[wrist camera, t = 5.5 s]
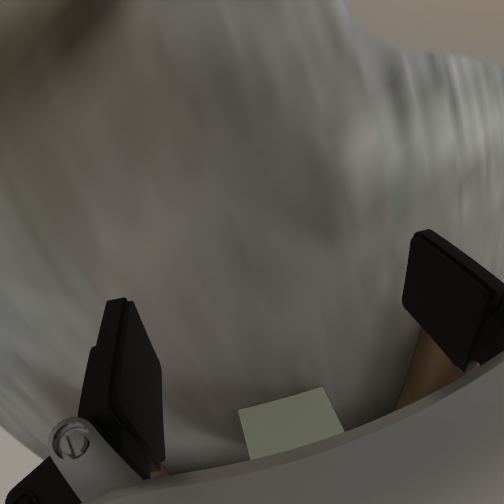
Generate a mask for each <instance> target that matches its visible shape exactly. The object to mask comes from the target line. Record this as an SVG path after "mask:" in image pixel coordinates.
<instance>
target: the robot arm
mask: <svg viewBox="0 0 504 504" xmlns="http://www.w3.org/2000/svg"><path fill="white" fill-rule="evenodd" d="M402 303H403V306H404V308H405V309H406V310H407V311H408V312H409V313H410V315H411V316H412V317H413V318H414V319H415V320H416V321H417V322H418V323H419V325H420V326H421V327H422V328H423V329H424V330H425V331H426V332H427V334H428V335H429V336H430V337H431V338H432V339H433V340H434V342H435V343H436V344H437V345H438V346H439V347H440V349H441V350H442V351H443V352H444V353H445V354H446V356H447V357H448V358H449V359H450V360H451V362H452V363H453V364H454V365H455V366H457V367H459V368H460V369H461V370H462V371H463V372H464V373H465V372H467V371H469V370H470V369H472V368H474V367H475V365H476V363H477V362H478V363H479V365H480V366H479V367H478V368H476V369H474V370H473V371H471V372H470V373H468V374H466V375H464V376H463V377H461V378H459V379H458V380H456V381H454V382H452V383H450V384H449V385H447V386H445V387H443V388H441V389H439V390H438V391H436V392H434V393H432V394H430V395H428V396H426V397H424V398H422V399H420V400H418V401H416V402H414V403H412V404H410V405H408V406H406V407H403V408H401V409H399V410H397V411H395V412H392V413H390V414H388V415H386V416H383V417H381V418H379V419H376V420H374V421H371V422H369V423H367V424H364V425H362V426H359V427H356V428H354V429H351V430H348V431H346V432H343V433H340V434H338V435H335V436H332V437H329V438H326V439H323V440H320V441H317V442H314V443H311V444H308V445H304V446H301V447H298V448H294V449H291V450H287V451H284V452H280V453H276V454H273V455H269V456H265V457H261V458H256V459H252V460H248V461H244V462H239V463H235V464H230V465H225V466H220V467H215V468H210V469H204V470H198V471H192V472H186V473H180V474H175V475H169V476H162V477H156V478H151V473H150V472H157V471H161V466H160V462H162V461H165V444H164V428H163V406H162V372H161V366H160V362H159V360H158V358H157V355H156V353H155V351H154V349H153V347H152V344H151V342H150V340H149V338H148V335H147V333H146V331H145V328H144V326H143V324H142V321H141V319H140V316H139V314H138V312H137V309H136V307H135V304H134V302H133V301H127V299H126V298H125V297H124V298H119V299H114V300H109V301H107V303H106V307H105V311H104V315H103V319H102V323H101V327H100V331H99V335H98V340H97V344H96V346H93V347H92V348H91V351H90V354H89V358H88V363H87V368H86V373H85V377H84V383H83V388H82V393H81V399H80V405H79V411H78V417H72V418H68V419H65V420H63V421H61V422H59V423H58V424H57V425H56V426H55V427H54V428H53V429H52V431H51V433H50V435H49V438H48V442H47V444H48V451H49V454H50V456H49V457H48V458H47V459H45V460H44V461H43V462H42V463H41V464H40V465H39V466H38V467H36V468H35V469H34V470H33V471H32V472H31V473H30V474H28V475H27V476H26V477H25V478H24V479H23V480H22V481H20V482H19V483H18V484H17V485H16V486H15V487H14V488H13V489H12V490H11V491H10V492H9V493H8V495H7V498H6V501H5V504H504V283H503V282H501V281H500V280H499V279H498V278H496V277H495V276H494V275H493V274H491V273H490V272H489V271H487V270H486V269H485V268H484V267H482V266H481V265H480V264H478V263H477V262H476V261H474V260H473V259H472V258H470V257H469V256H468V255H466V254H465V253H464V252H462V251H461V250H459V249H458V248H457V247H455V246H454V245H452V244H451V243H450V242H448V241H447V240H445V239H444V238H443V237H441V236H440V235H438V234H437V233H435V232H434V231H432V230H430V229H427V230H423V231H419V232H416V233H415V234H414V236H413V238H412V239H411V242H410V250H409V257H408V264H407V271H406V278H405V284H404V290H403V295H402Z"/></svg>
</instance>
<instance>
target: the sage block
mask: <svg viewBox="0 0 504 504" xmlns="http://www.w3.org/2000/svg"><path fill="white" fill-rule="evenodd" d="M238 413H239V417H240V421H241V425H242V429H243V433H244V437H245V441H246V445H247V449H248V452H249V456H250V460H252V459H256V458H261V457H265V456H269V455H273V454H276V453H280V452H284V451H287V450H291V449H294V448H298V447H301V446H304V445H308V444H311V443H314V442H317V441H320V440H323V439H326V438H329V437H332V436H335V435H338V434H340V433H343V432H344V430H343V428H342V426H341V423H340V421H339V419H338V417H337V415H336V413H335V411H334V409H333V407H332V405H331V403H330V401H329V399H328V397H327V395H326V393H325V391H324V389H323V387H319V388H316V389H313V390H310V391H306V392H303V393H300V394H296V395H293V396H289V397H286V398H282V399H279V400H275V401H271V402H268V403H264V404H260V405H256V406H252V407H248V408H243V409H239V410H238Z"/></svg>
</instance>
